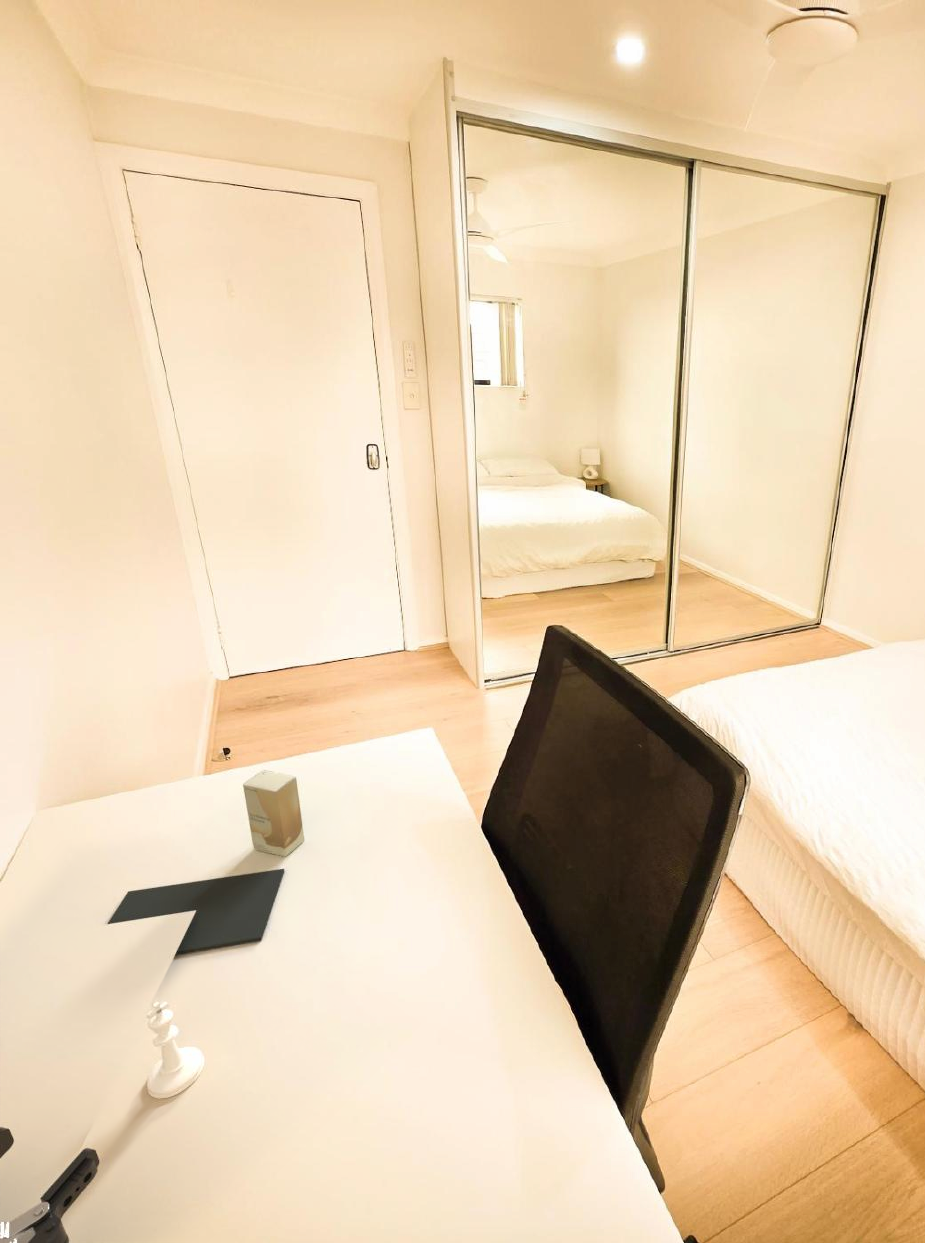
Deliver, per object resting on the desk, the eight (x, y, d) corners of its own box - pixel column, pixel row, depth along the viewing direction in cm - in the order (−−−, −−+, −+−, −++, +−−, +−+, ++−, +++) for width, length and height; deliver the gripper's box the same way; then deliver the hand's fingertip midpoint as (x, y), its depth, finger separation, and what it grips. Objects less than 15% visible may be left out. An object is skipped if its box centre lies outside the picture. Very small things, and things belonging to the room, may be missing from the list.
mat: (79, 972, 75) (78, 968, 75) (129, 894, 87) (128, 891, 86) (261, 940, 80) (260, 937, 80) (284, 871, 92) (284, 868, 92)
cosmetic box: (252, 850, 96) (239, 783, 92) (273, 832, 100) (261, 768, 96) (287, 858, 95) (275, 791, 91) (307, 840, 99) (296, 775, 95)
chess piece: (214, 1066, 65) (195, 997, 62) (162, 1108, 61) (139, 1037, 58) (189, 1042, 67) (170, 974, 64) (138, 1081, 63) (115, 1011, 60)
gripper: (-293, 1444, 39) (-6, 1154, 54) (-113, 1511, 37) (134, 1190, 52) (-351, 1381, 36) (-33, 1096, 51) (-161, 1449, 34) (112, 1131, 49)
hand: (50, 1144), depth 52 cm, fingers open, 8 cm apart
